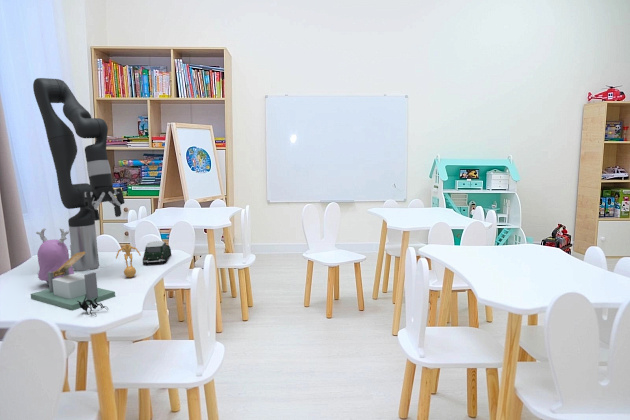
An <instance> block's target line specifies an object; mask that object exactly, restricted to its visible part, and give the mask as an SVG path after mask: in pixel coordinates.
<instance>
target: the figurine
mask: <svg viewBox="0 0 630 420" xmlns="http://www.w3.org/2000/svg"><path fill="white" fill-rule="evenodd" d="M131 249H133V250H135V251H136V252H137V254H138V255H139V256H140V257H141V253H140V251H139V249H138V248H137V247H134V246H132V245H129V244H128V243H126V244H125V245H124V246H122V248H120V249H118V250H117V253H116V256H115V259H116V260H117V259H118V256H119V254H120V252H121V251H123V250H124V252H125V253H124V255H123V256H124V260H125V264H126V267H125V269H124V271H123V273H124V276H125V277H127V278H133V277H134V276H135V275H136V273H137V270H136V268H135V267H134V266H133V253H132V252H131ZM128 258H129V259H130V262H129V261H128ZM128 262H129V263H130V266H129V264H128Z"/></svg>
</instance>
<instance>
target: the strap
mask: <svg viewBox="0 0 630 420" xmlns="http://www.w3.org/2000/svg"><path fill="white" fill-rule="evenodd" d="M85 254H86V253H85V251H84V252H80V253H76V254H74V255H73V256H72V257H69V260H68V261H67V262H66V263H64V264H63V265H62V266H61V267H60V268H59V269H58V270H57V271H54V272H53V274H54V277H57V276H61V275H64V274H65V271H66V270H67V269H69V268H70V267H71V266H72V265H73V264H74V263H75V262H77V261H78V260H79V259H80V258H81V257H82V256H83V255H85Z"/></svg>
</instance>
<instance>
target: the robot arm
mask: <svg viewBox="0 0 630 420" xmlns="http://www.w3.org/2000/svg"><path fill="white" fill-rule="evenodd" d="M32 85H33V86H32V88H33V94H34V97H35V101H36V104H37V106H38V109H39V112H40V115H41V118H42V120H43V125H44V129H45V132H46V137H47V142H48V145H49V150H50V153H51V157H52V160H53V164H54V167H55V168H54V169H55V173H56V179H57V185H58V191H59V196H60V200H61V203H62V205H63V207H64V208H65V209H69V210H72V209H79V211H78V212H77V213H76V214H75V215H73V216H71V217H69V218H68V231H69V238H70V239H69V240H70V245H69V247H70V249H69V250H70V256H71V257H72V256H73V255H74V254H76V253H80V252H84V251H85V253H86V254H85V255H83V256H82V257H81V258H80V259H79V260H78V261H77V262H75V263H74V264H73V265H72V268H73V271H78V272H81V271H82V272H83V271H90V270H95V269H97V268H99V267H100V260H99V249H98V248H99V247H98V239H97V231H96V221H100V220H101V219H100V213H99V209H98V207H99V205H101V203H105V202H109V203H110V204H112V206H113V211H114V215H115V218H118V217H121V215H122V210H121V209H122V208H121V206H122V205H123V204H125V198H124V194H123V193H124V192H123V189H122V188H121V187H117V188H115V189H114V180H113V176H112V171H111V165H110V163H109V159H108V153H107V141H108V132H109V130H108V129H109V128H108V124H107V122H106V121H105V120H104V119H102V118H100V117H99V118H98V117H96V118H95V117H92V114H91V113H90V111H88V110H87V109H86V108H85V107H84V106H83V105H81V104H80V102H79V101H78V100H77V97H75V95H74V93H73V92H72V90H71V88H70V87H69V86H68V85H67V83H66V82H65V81H64V80H61V79H59V78H45V77H38V78H35V79H34V81H33V84H32ZM52 104H63V106H62V112H63V115H64V117H66V118H65V119H67V120H68V121H69V122H70V123H71V124H72V126H73V128H74V131H75V134H76V135H77V136H78V137H79V138H82V139H95V143H93V144H90V145H87V146H85V147H84V153H85V160H86V167H87V168H86V169H87V175H88V181H89V183H73V181H72V178H71V177H72V176H71V174H72V172H71V171H72V167H73V165H74V163H75V160H76V158H77V154H78V146H77V145H78V144H77V141H76V138H75V135H74V132H73V131H72V129H71V128H70V127H69V126H68V125H67V123H65V122H64V121H63V120H62V118H60V117H59V115H58V114H57V113H56V112H55V109H54V108H53V105H52ZM114 194H115V195H114ZM71 257H70V258H71Z"/></svg>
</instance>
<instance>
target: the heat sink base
mask: <svg viewBox="0 0 630 420" xmlns="http://www.w3.org/2000/svg"><path fill="white" fill-rule="evenodd" d="M47 274H48V283H49V284H48V283H47V284H48V288H46V289H44V290H39V291H36V292H32V293H30V300H31V299H32V300H36V301H40V302H42V303H46V304H50V305H53V306H57V307H60V308H62V309H67V310H71V311H74V310H77V309H82V308H81V307H80V305H79V302H81V304H82V303H83V301H84V299H85V296H86V300H92V302H93V303H94V304H95V302H94V299H96V298H97V297H98V298H97V300H96V302H97V303H98V302H99V303H100V302H102V301H104V300H105V301H106V300H108V299H111V298H114V297H116V291H114V290H109V289H106V288H100V287H98V283H97V281H98V280H97V273H96V272H94V271H92V272H89V273H86V274H85V273H84V274H83V273H80V272H74V274H71V275H69V269H67V270H66V271H65V274H64V276H63V277H59V278H55V279H54V274H53V272H51V271H50V272H47ZM85 294H86V295H85ZM86 300H85V301H86ZM76 301H79V302H76ZM87 305H88V306H90V302H87Z"/></svg>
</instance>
